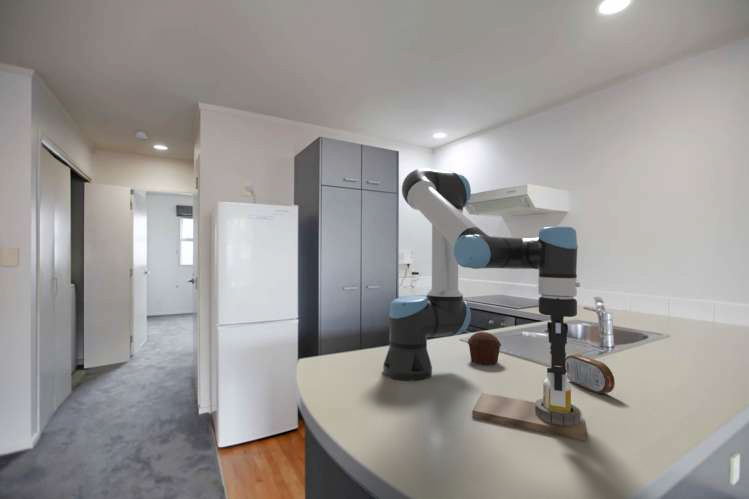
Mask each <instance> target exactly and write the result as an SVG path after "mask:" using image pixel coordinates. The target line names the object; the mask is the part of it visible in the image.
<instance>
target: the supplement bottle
mask: <svg viewBox="0 0 749 499" xmlns="http://www.w3.org/2000/svg"><path fill="white" fill-rule="evenodd" d="M546 376H547V378H545V379H544V380H543V384H542V385H543V386H542V388H543V390H542V395H543V397H542V399H543V407H544V408H545V409H548V410H550V411H553V412H558V413H571V404H572V387H571V384H570V383H569V382H568V377H567V372H566V407H560V406H555V405H550V373H548V372H547V371H546Z"/></svg>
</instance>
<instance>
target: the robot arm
mask: <svg viewBox="0 0 749 499" xmlns="http://www.w3.org/2000/svg"><path fill="white" fill-rule="evenodd" d="M471 193H472V189H471V184H470V182H469V180H468V179H467V178H466V177H465V176H464V175H463V174H461V173H456V172H454V171H445V170H438V169H432V168H431V169H430V168H426V167H425V168H418V169H414V170H413V171H411V172H410V173H408V174H407V175H406V177H405V178H404V180H403V182H402V185H401V194H402V197H403V199H404V201H405V202H406V203H407V205H409V206H410V208H412V209H413V210H416V211H419V212H420V213H421V214H422V216H424V218H426V220H428V222H430V224H431V289H430V290H429V291H428V292H427V294H426V296H423V295H413V296H411V295H409V296H402V297H397V298H395V299H393V300H392V301H391V302H390V306H389V314H388V316H389V337H388V338H389V339H388V340H389V341H388V344H389V346H388V350H387V353H386V356H385V358H384V362H383V365H382V366H383V367H382V368H383V371H382V372H383V374H384V375H385V376H387V377H389V378H392V379H395V380H399V381H400V380H401V381H421V380H426V379H429V378H431V377H432V375H433V365H432V361H431V358H430V355H429V352H428V344H427V343H428V342H427V341H428V338H434V337H452V336H455V335H460V334H462V333H464V332H465V330H467V328H468V327H469V325H470V323H471V319H472V318H471V317H472V314H471V309H470V307H469V303H468V302H467V301H466V300H464V294H463V293H462V292H461V291H460V290H459V266H460V267H462V268H467V269H474V270H475V269H476V270H478V269H509V270H510V269H511V270H513V269H514V270H519V269H520V270H521V269H522V270H523V269H525V270H538V280H537V281H538V285H537V287H538V295H539V296H540V295H541V296H540V297H538V312H539V314H541V315H544V316H549V318H550V321H547V332H548V343H549V344H550V347H549V349H550V351H549V353H550V356H549V358H550V359H549V364H550V365H549V366H550V367H547V369H546V373H547V372H548V373H550V405H555V406H560V407H566V381H567V380H566V368H565V358H566V357H567V355H566V354H567V352H566V345H567V341H568V333H569V326H568V323H567V322H565V320H564V318H572V317H576V316H577V315H578V300H577V299H576V298H574V297H577V296H578V295H577V293H578V289H577V288H579V287H581V283H580V282H577V281H578V280H577V279H578V276H577V270H578V269H577V268H578V265H577V264H578V248H579V246H578V239H577V231H576V229H575V228H573V227H571V226H547V227H541V228H540V229H539V230H538V236H537V237H504V236H503V237H502V236H493V235H492V236H490V235H488V234H487V233H486V232H484V231H483V230H482V229H481V228H479V227H478V226H477V225H475V223H473V221H471V220H470V219H469V218H468V217H467V216H466V215H464V208H465V207H466V206H467V205H468V204H469V201H470V199H471V196H472V194H471Z"/></svg>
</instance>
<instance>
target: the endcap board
mask: <svg viewBox="0 0 749 499" xmlns="http://www.w3.org/2000/svg"><path fill="white" fill-rule="evenodd" d="M471 415H472V416H471V418H474V419H479V420H484V421H490V422H494V423H498V424H504V425H509V426H513V427H518V428H522V429H527V430H531V431H535V432H541V433H545V434H550V435H555V436H561V437H563V438H564V437H565V438H569V439H572V440H573V439H575V440H580V441H583V440H584V442H587V431H586V426H585V422H584V416H583V412H582V410H580V408H578V407H577V406H576V405H574V404H572V403H571V413H558V412H553V411H550V410H548V409H545V408H544V407H543V398H542V399H538V400H536V401H529V400H523V399H520V398H512V397H507V396H502V395H496V394H495V395H494V394H491V393H484V392H481V393H480V395H479V397H478V399H477V401H476V402H475V405H474V406H473V409H472V414H471Z"/></svg>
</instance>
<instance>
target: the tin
mask: <svg viewBox="0 0 749 499" xmlns="http://www.w3.org/2000/svg"><path fill="white" fill-rule="evenodd" d="M565 368H566V372H567V380H569V381H570V382H571V383H572V384H575V385H576V386H579V387H581V388H583V389H585V390H588V391H590V392H593V393H596V394H599V395H600V394H601V395H602V394H609V393H611V392H612V391H613V390H614V388H615V385H616V384H615V377H614V374H613V372H612V370H611V369H610V367H609V366H608V365H606V364H605V363H604V362H602V361H600V360H596V359H593V358H590V357H587V356H585V355H582V354H579V353H576V354H571V355H568V356H566V357H565Z"/></svg>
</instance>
